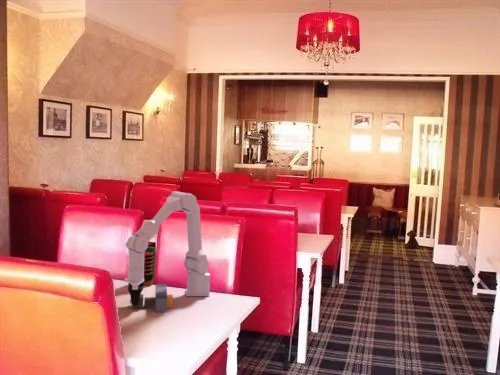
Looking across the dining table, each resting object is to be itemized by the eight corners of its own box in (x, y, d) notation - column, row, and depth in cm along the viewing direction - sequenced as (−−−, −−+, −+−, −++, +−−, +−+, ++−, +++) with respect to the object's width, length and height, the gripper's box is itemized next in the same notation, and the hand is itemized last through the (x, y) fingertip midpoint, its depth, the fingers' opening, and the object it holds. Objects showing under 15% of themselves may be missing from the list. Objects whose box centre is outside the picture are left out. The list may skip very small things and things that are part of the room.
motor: (147, 288, 205) (148, 242, 203) (127, 286, 207) (128, 240, 205) (156, 282, 215) (157, 238, 213) (137, 280, 217) (139, 236, 215)
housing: (165, 300, 190) (166, 284, 190) (166, 312, 177) (167, 295, 176) (155, 300, 190) (155, 284, 189) (155, 312, 176) (156, 295, 175)
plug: (172, 304, 186) (172, 293, 186) (172, 307, 182) (172, 297, 181) (130, 304, 183) (130, 294, 183) (129, 308, 179) (129, 298, 178)
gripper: (126, 262, 186) (125, 297, 187) (124, 272, 172) (123, 309, 173) (144, 262, 188) (143, 296, 189) (144, 272, 174) (143, 309, 175)
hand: (135, 302), depth 181 cm, fingers closed on plug, 4 cm apart
